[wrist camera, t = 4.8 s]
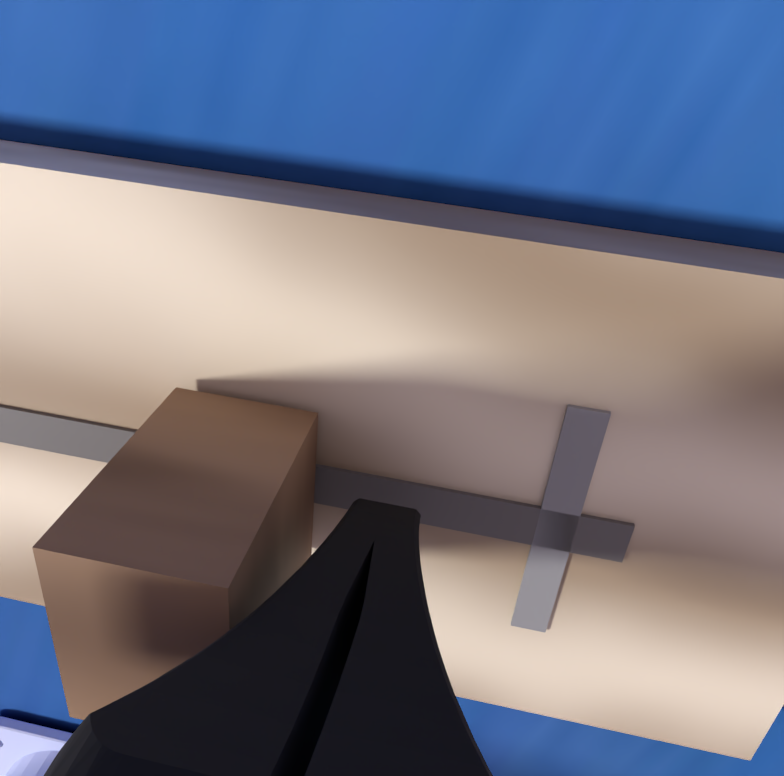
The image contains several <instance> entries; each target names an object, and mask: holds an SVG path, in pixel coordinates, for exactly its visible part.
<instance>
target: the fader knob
mask: <svg viewBox="0 0 784 776" xmlns="http://www.w3.org/2000/svg"><path fill="white" fill-rule="evenodd" d="M317 430H318V413H316V412H311V411H305V410H300V409H294V408H289V407H283V406H277V405H272V404H266V403H261V402H255V401H250V400H244V399H239V398H233V397H227V396H222V395H216V394H211V393H205V392H200V391H194V390H188V389H183V388H177V387H176V388H175V389H174V390H173V391H172V392H171V393H170V395H169V396H168V397H167V398H166V399H165V400H164V401H163V402H162V403H161V405H160V406H159V407H158V408H157V409H156V410H155V411H154V412H153V413H152V415H151V416H150V417H149V418H148V419H147V420H146V421H145V422H144V423H143V425H142V426H141V427H140V428H139V429H138V430H137V431H136V432H135V433H134V435H133V436H132V437H131V438H130V439H129V440H128V441H127V442H126V443H125V445H124V446H123V447H122V448H121V449H120V450H119V451H118V452H117V453H116V455H115V456H114V457H113V458H112V459H111V460H110V461H109V462H108V463H107V465H106V466H105V467H104V468H103V469H102V470H101V471H100V472H99V473H98V475H97V476H96V477H95V478H94V479H93V480H92V481H91V482H90V483H89V485H88V486H87V487H86V488H85V489H84V490H83V491H82V492H81V493H80V495H79V496H78V497H77V498H76V499H75V500H74V501H73V502H72V504H71V505H70V506H69V507H68V508H67V509H66V510H65V511H64V512H63V514H62V515H61V516H60V517H59V518H58V519H57V520H56V521H55V522H54V524H53V525H52V526H51V527H50V528H49V529H48V530H47V531H46V532H45V534H44V535H43V536H42V537H41V538H40V539H39V540H38V541H37V542H36V544H35V545H34V546H33V547H32V549H33V553H34V558H35V562H36V567H37V571H38V576H39V580H40V585H41V589H42V594H43V598H44V603H45V607H46V612H47V616H48V621H49V625H50V630H51V634H52V639H53V643H54V648H55V652H56V657H57V661H58V666H59V670H60V675H61V679H62V684H63V688H64V693H65V697H66V702H67V706H68V711H69V715H70V717H73V718H77V719H82V720H84V719H85V718H86V717H87V716H88V715H89V714H90V713H92V712H94V711H96V710H98V709H100V708H102V707H104V706H106V705H108V704H110V703H112V702H114V701H116V700H118V699H120V698H122V697H124V696H125V695H127V694H129V693H131V692H133V691H135V690H137V689H139V688H141V687H143V686H145V685H146V684H148V683H150V682H152V681H154V680H155V679H157V678H158V677H160V676H162V675H163V674H165V673H167V672H168V671H170V670H171V669H173V668H175V667H176V666H178V665H180V664H181V663H183V662H184V661H186V660H188V659H189V658H191V657H193V656H194V655H196V654H197V653H199V652H200V651H201V650H203V649H204V648H206V647H207V646H209V645H210V644H212V643H213V642H214V641H216V640H217V639H218V638H220V637H221V636H222V635H224V634H225V633H226V632H228V631H229V630H230V629H232V628H233V627H234V626H236V625H237V624H238V623H240V622H241V621H242V620H243V619H245V618H246V617H247V616H248V615H249V614H251V613H252V612H253V611H254V610H255V609H257V608H258V607H259V606H260V605H261V604H262V603H264V602H265V601H266V600H267V599H268V598H269V597H270V596H271V595H272V594H274V593H275V592H276V591H277V590H278V589H279V588H280V587H281V586H282V585H283V584H284V583H285V582H286V581H287V580H288V579H289V578H290V577H291V576H292V575H293V574H294V573H295V572H296V571H297V570H298V569H299V568H300V567H301V566H302V565H303V564H304V563H305V562H306V561H307V560H308V558H309V557H310V556H311V553H312V532H313V512H314V491H315V471H316V450H317Z"/></svg>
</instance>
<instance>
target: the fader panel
mask: <svg viewBox="0 0 784 776" xmlns="http://www.w3.org/2000/svg"><path fill="white" fill-rule="evenodd" d="M176 387H177V388H183V389H188V390H194V391H200V392H205V393H211V394H216V395H222V396H227V397H233V398H239V399H244V400H250V401H255V402H261V403H266V404H272V405H277V406H283V407H289V408H294V409H300V410H305V411H311V412H316V413H318V430H317V450H316V471H315V491H314V512H313V532H312V553H311V555H312V554H313V553H314V552H315V551H316V549H317V548H318V547H319V546H320V545H321V544H322V543H323V542H324V540H325V539H326V538H327V537H328V536H329V534H330V533H331V532H332V531H333V529H334V528H335V527H336V526H337V524H338V523H339V522H340V520H341V519H342V518H343V516H344V515H345V514H346V512H347V511H348V509H349V508H350V506H351V505H352V503H353V502H354V501H355V500H357V499H359V498H362V499H367V500H372V501H377V502H382V503H387V504H393V505H398V506H403V507H408V508H413V509H417V511H418V512H419V513H420V514H421V518H420V525H419V550H420V562H421V570H422V576H423V582H424V588H425V594H426V599H427V604H428V608H429V613H430V617H431V621H432V625H433V629H434V633H435V636H436V640H437V644H438V647H439V650H440V654H441V657H442V660H443V663H444V666H445V669H446V672H447V675H448V677H449V680H450V683H451V685H452V688H453V691H454V694H455V696H458V697H462V698H467V699H471V700H476V701H481V702H485V703H490V704H494V705H499V706H503V707H508V708H513V709H517V710H522V711H526V712H531V713H535V714H540V715H544V716H549V717H554V718H558V719H563V720H567V721H572V722H576V723H581V724H586V725H590V726H595V727H599V728H604V729H608V730H613V731H618V732H622V733H627V734H631V735H636V736H640V737H645V738H650V739H654V740H659V741H663V742H668V743H672V744H677V745H681V746H686V747H691V748H695V749H700V750H704V751H709V752H713V753H718V754H723V755H727V756H732V757H736V758H741V759H745V760H751V758H752V757H753V755H754V753H755V752H756V750H757V748H758V747H759V745H760V743H761V742H762V740H763V738H764V737H765V735H766V733H767V732H768V730H769V728H770V727H771V725H772V723H773V722H774V720H775V718H776V717H777V715H778V713H779V712H780V710H781V708H782V707H783V705H784V253H780V252H773V251H767V250H760V249H753V248H746V247H739V246H732V245H725V244H718V243H711V242H704V241H697V240H691V239H684V238H677V237H670V236H663V235H656V234H649V233H642V232H635V231H628V230H621V229H615V228H608V227H601V226H594V225H587V224H580V223H573V222H566V221H559V220H552V219H545V218H539V217H532V216H525V215H518V214H511V213H504V212H497V211H490V210H483V209H476V208H469V207H463V206H456V205H449V204H442V203H435V202H428V201H421V200H414V199H407V198H400V197H393V196H387V195H380V194H373V193H366V192H359V191H352V190H345V189H338V188H331V187H324V186H317V185H310V184H304V183H297V182H290V181H283V180H276V179H269V178H262V177H255V176H248V175H241V174H234V173H228V172H221V171H214V170H207V169H200V168H193V167H186V166H179V165H172V164H165V163H158V162H152V161H145V160H138V159H131V158H124V157H117V156H110V155H103V154H96V153H89V152H82V151H76V150H69V149H62V148H55V147H48V146H41V145H34V144H27V143H20V142H13V141H6V140H0V596H1V597H6V598H10V599H15V600H19V601H24V602H28V603H33V604H38V605H42V606H45V603H44V598H43V594H42V589H41V585H40V580H39V576H38V571H37V567H36V562H35V558H34V553H33V549H32V547H33V546H34V545H35V544H36V542H37V541H38V540H39V539H40V538H41V537H42V536H43V535H44V534H45V532H46V531H47V530H48V529H49V528H50V527H51V526H52V525H53V524H54V522H55V521H56V520H57V519H58V518H59V517H60V516H61V515H62V514H63V512H64V511H65V510H66V509H67V508H68V507H69V506H70V505H71V504H72V502H73V501H74V500H75V499H76V498H77V497H78V496H79V495H80V493H81V492H82V491H83V490H84V489H85V488H86V487H87V486H88V485H89V483H90V482H91V481H92V480H93V479H94V478H95V477H96V476H97V475H98V473H99V472H100V471H101V470H102V469H103V468H104V467H105V466H106V465H107V463H108V462H109V461H110V460H111V459H112V458H113V457H114V456H115V455H116V453H117V452H118V451H119V450H120V449H121V448H122V447H123V446H124V445H125V443H126V442H127V441H128V440H129V439H130V438H131V437H132V436H133V435H134V433H135V432H136V431H137V430H138V429H139V428H140V427H141V426H142V425H143V423H144V422H145V421H146V420H147V419H148V418H149V417H150V416H151V415H152V413H153V412H154V411H155V410H156V409H157V408H158V407H159V406H160V405H161V403H162V402H163V401H164V400H165V399H166V398H167V397H168V396H169V395H170V393H171V392H172V391H173V390H174V389H175V388H176Z"/></svg>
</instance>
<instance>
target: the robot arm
mask: <svg viewBox="0 0 784 776" xmlns="http://www.w3.org/2000/svg"><path fill="white" fill-rule="evenodd" d="M420 518H421V514H420V513H419V512H418V511H417V509H413V508H408V507H403V506H398V505H393V504H387V503H382V502H377V501H372V500H367V499H362V498H359V499H357V500H355V501H354V502H353V503H352V505H351V506H350V508H349V509H348V511H347V512H346V514H345V515H344V516H343V518H342V519H341V520H340V522H339V523H338V524H337V526H336V527H335V528H334V529H333V531H332V532H331V533H330V534H329V536H328V537H327V538H326V539H325V540H324V542H323V543H322V544H321V545H320V546H319V547H318V548H317V549H316V551H315V552H314V553H313V554H312V555H311V556H310V557H309V558H308V560H307V561H306V562H305V563H304V564H303V565H302V566H301V567H300V568H299V569H298V570H297V571H296V572H295V573H294V574H293V575H292V576H291V577H290V578H289V579H288V580H287V581H286V582H285V583H284V584H283V585H282V586H281V587H280V588H279V589H278V590H277V591H276V592H275V593H274V594H272V595H271V596H270V597H269V598H268V599H267V600H266V601H265V602H264V603H262V604H261V605H260V606H259V607H258V608H257V609H255V610H254V611H253V612H252V613H251V614H249V615H248V616H247V617H246V618H245V619H243V620H242V621H241V622H240V623H238V624H237V625H236V626H234V627H233V628H232V629H230V630H229V631H228V632H226V633H225V634H224V635H222V636H221V637H220V638H218V639H217V640H216V641H214V642H213V643H212V644H210V645H209V646H207V647H206V648H204V649H203V650H201V651H200V652H199V653H197V654H196V655H194V656H193V657H191V658H189V659H188V660H186V661H184V662H183V663H181V664H180V665H178V666H176V667H175V668H173V669H171V670H170V671H168V672H167V673H165V674H163V675H162V676H160V677H158V678H157V679H155V680H154V681H152V682H150V683H148V684H146V685H145V686H143V687H141V688H139V689H137V690H135V691H133V692H131V693H129V694H127V695H125V696H124V697H122V698H120V699H118V700H116V701H114V702H112V703H110V704H108V705H106V706H104V707H102V708H100V709H98V710H96V711H94V712H92V713H90V714H89V715H88V716H87V717H86V718H85V719H84V721H83V722H82V723H81V724H80V726H79V727H78V728H77V729H76V730H75V732H74V733H69V732H65V731H61V730H57V729H53V728H48V727H44V726H40V725H36V724H32V723H27V722H23V721H19V720H15V719H11V718H6V717H2V716H0V776H493V775H492V774H491V772H490V770H489V768H488V766H487V764H486V762H485V760H484V758H483V756H482V754H481V752H480V750H479V748H478V746H477V744H476V742H475V740H474V738H473V735H472V733H471V731H470V729H469V726H468V724H467V722H466V719H465V717H464V715H463V712H462V710H461V708H460V706H459V703H458V701H457V699H456V696H455V694H454V691H453V688H452V685H451V683H450V680H449V677H448V675H447V672H446V669H445V666H444V663H443V660H442V657H441V654H440V650H439V647H438V644H437V640H436V636H435V633H434V629H433V625H432V621H431V617H430V613H429V608H428V604H427V599H426V594H425V588H424V582H423V576H422V570H421V562H420V550H419V525H420Z"/></svg>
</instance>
